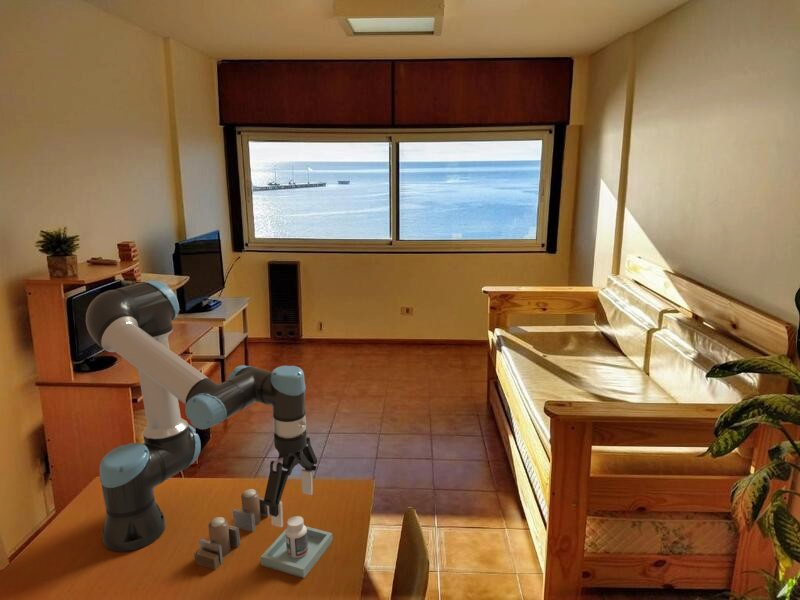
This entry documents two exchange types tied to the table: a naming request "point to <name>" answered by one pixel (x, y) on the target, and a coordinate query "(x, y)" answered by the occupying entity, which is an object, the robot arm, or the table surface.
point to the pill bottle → (296, 537)
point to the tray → (297, 566)
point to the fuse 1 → (220, 534)
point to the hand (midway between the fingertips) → (293, 508)
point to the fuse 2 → (251, 503)
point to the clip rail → (212, 551)
